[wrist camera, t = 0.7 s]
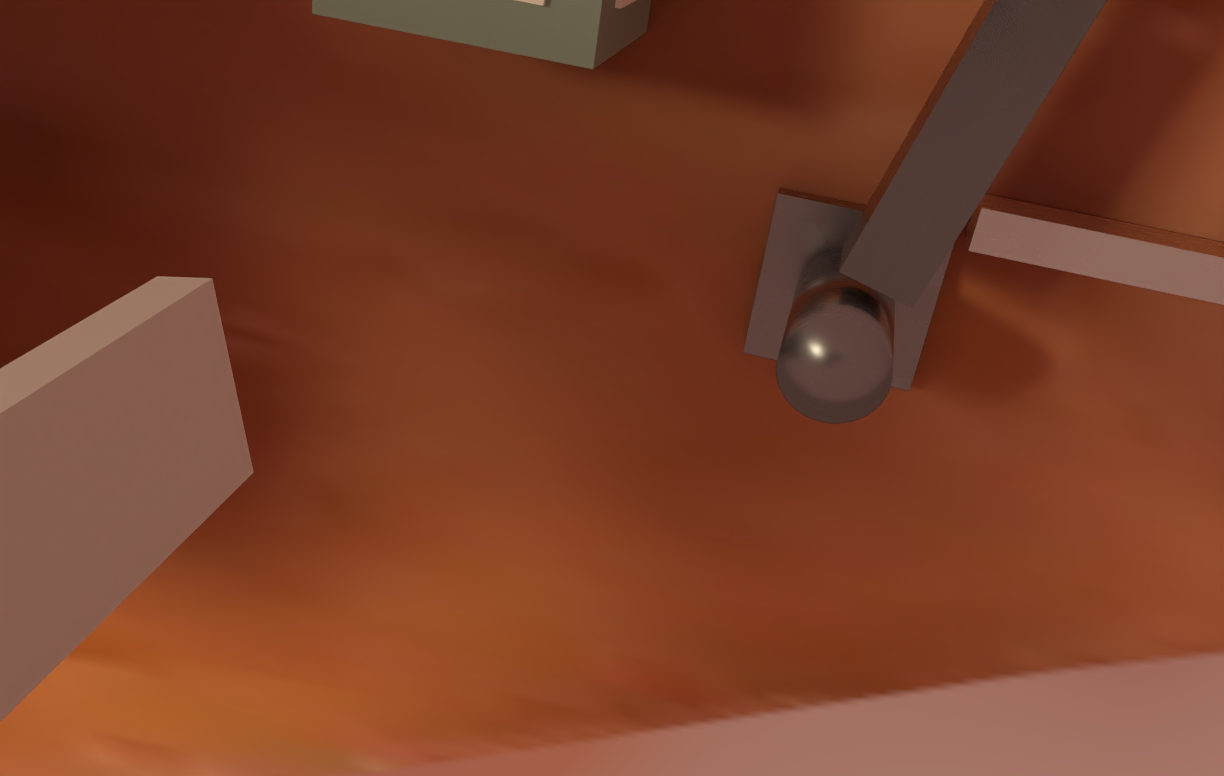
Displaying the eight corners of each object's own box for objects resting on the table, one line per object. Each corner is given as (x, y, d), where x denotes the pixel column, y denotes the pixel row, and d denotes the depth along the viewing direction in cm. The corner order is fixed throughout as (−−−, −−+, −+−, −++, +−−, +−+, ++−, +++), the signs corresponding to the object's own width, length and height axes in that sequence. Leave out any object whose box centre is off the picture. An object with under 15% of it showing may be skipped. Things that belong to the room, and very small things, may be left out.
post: (745, 344, 34) (714, 435, 29) (780, 187, 31) (753, 255, 26) (909, 382, 33) (908, 483, 28) (957, 224, 31) (966, 301, 25)
